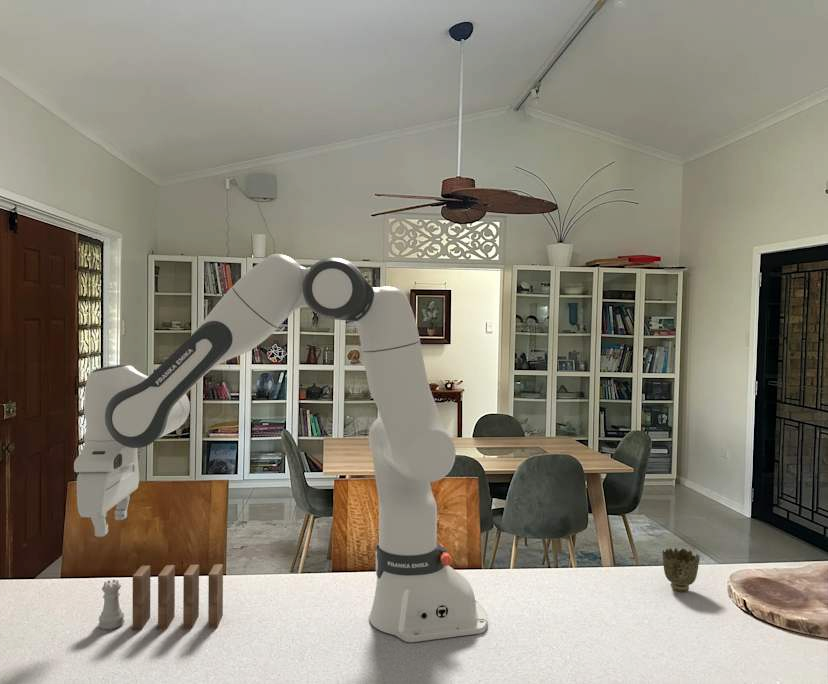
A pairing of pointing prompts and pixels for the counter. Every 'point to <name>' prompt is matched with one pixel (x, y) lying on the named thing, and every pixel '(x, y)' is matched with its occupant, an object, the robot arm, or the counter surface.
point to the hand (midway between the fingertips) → (111, 526)
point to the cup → (680, 568)
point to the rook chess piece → (111, 607)
